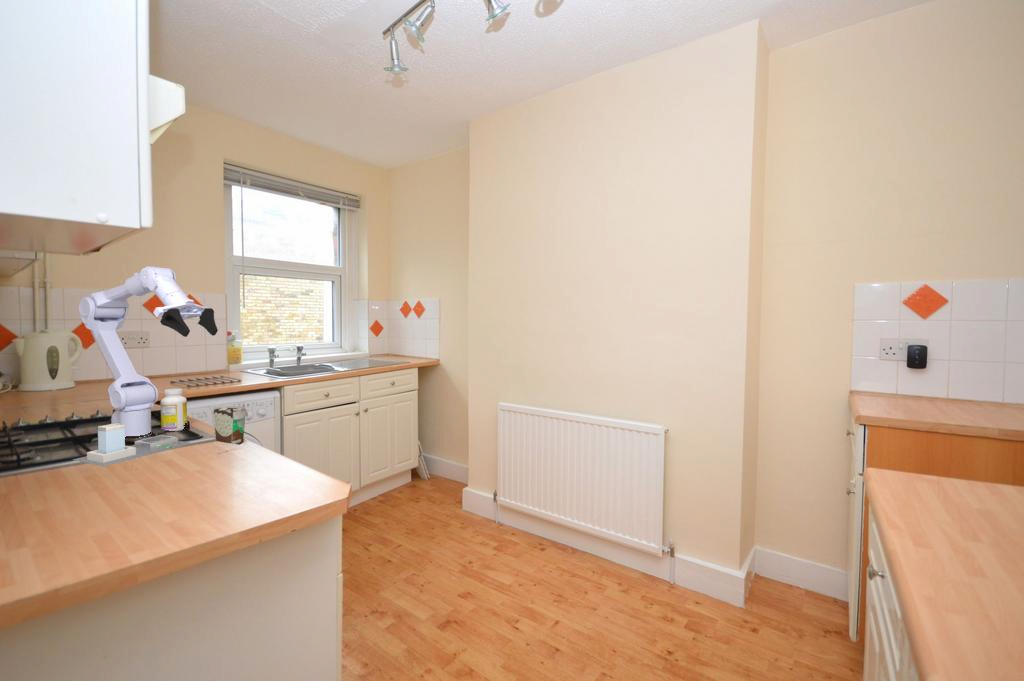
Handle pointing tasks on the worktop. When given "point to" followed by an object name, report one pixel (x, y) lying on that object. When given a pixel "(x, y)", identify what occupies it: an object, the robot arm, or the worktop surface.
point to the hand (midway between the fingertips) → (201, 333)
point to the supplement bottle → (173, 410)
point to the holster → (111, 454)
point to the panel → (138, 454)
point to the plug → (111, 438)
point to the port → (156, 442)
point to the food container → (229, 423)
